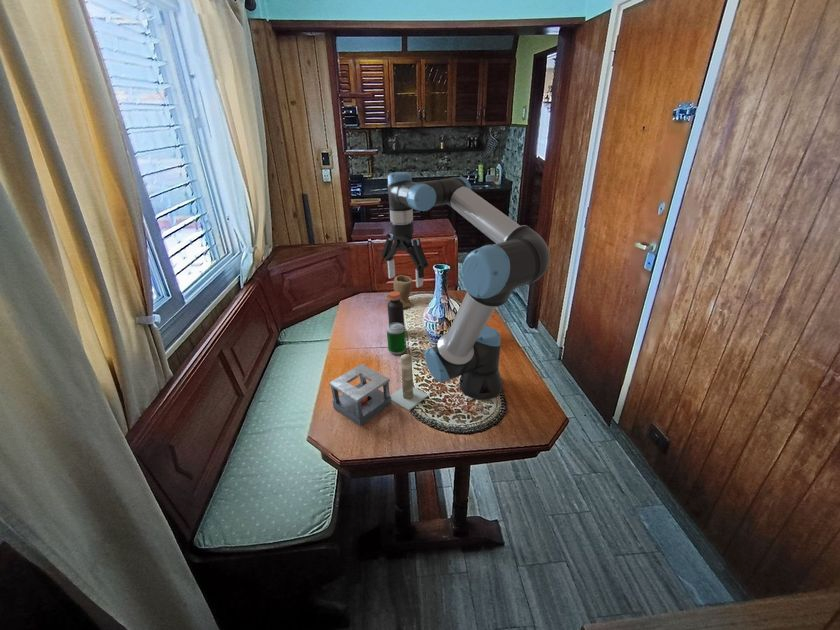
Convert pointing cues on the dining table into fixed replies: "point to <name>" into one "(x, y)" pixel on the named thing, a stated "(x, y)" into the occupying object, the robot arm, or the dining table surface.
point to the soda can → (396, 338)
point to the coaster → (408, 403)
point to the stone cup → (403, 289)
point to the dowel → (407, 376)
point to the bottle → (395, 308)
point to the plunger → (364, 400)
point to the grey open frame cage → (361, 394)
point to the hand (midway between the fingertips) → (405, 281)
